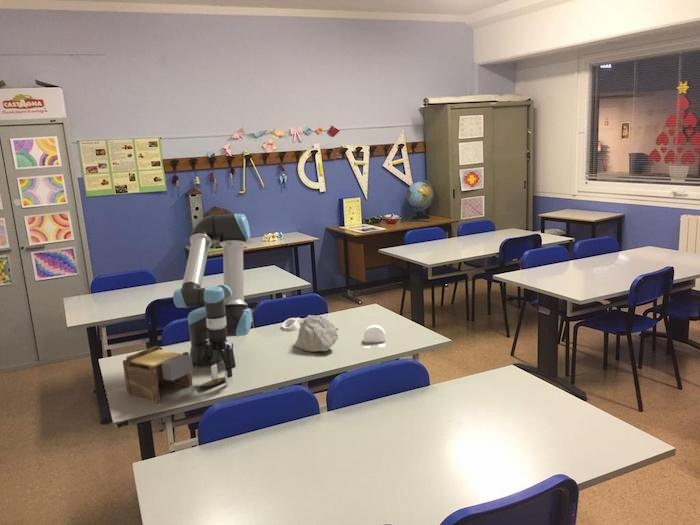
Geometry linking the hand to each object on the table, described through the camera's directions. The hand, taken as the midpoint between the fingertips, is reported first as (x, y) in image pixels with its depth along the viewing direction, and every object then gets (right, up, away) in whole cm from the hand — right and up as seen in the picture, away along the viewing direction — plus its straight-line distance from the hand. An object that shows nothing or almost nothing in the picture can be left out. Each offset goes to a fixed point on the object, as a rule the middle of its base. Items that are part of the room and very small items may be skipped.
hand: (221, 382), depth 225 cm
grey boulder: (+35, +8, +33) cm, 48 cm away
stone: (+2, +1, -2) cm, 3 cm away
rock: (+41, +6, +57) cm, 71 cm away
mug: (+25, +10, +67) cm, 72 cm away
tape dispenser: (+62, +8, +38) cm, 73 cm away
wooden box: (-23, -3, -3) cm, 24 cm away
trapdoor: (-20, +6, -7) cm, 22 cm away
